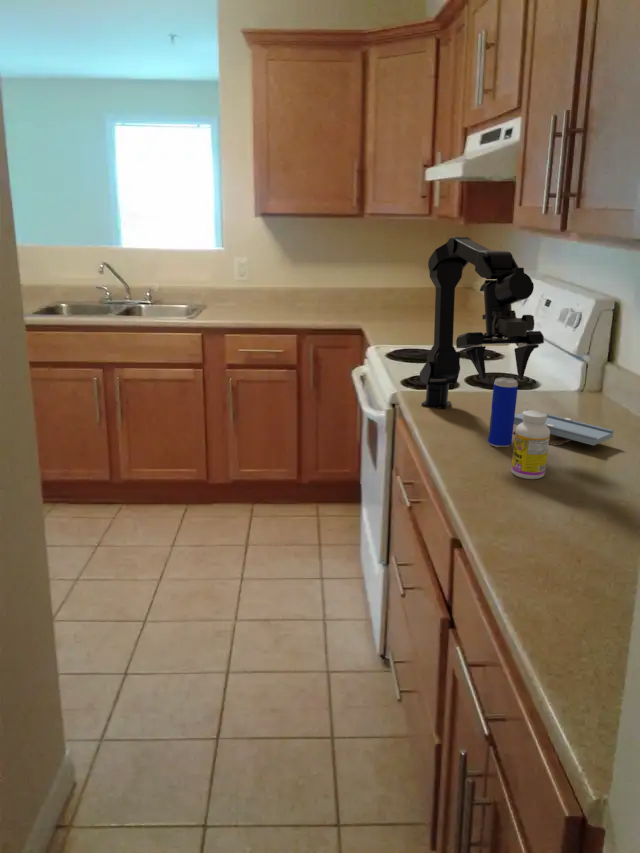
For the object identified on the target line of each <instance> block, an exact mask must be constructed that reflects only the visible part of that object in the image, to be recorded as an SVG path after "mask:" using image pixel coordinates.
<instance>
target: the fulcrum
mask: <svg viewBox="0 0 640 853" xmlns="http://www.w3.org/2000/svg"><path fill="white" fill-rule="evenodd" d="M567 441H568V442H570V441H572V440H571V439H567V438H564V437H560V436H556V435H553V434H550V437H549V443H552V444H555V445H554V446H556V445H558V446H560V445H562V444H561V443H563V444H565V443H568V442H567ZM564 442H565V443H564ZM552 444H551V445H552ZM559 444H560V445H559Z"/></svg>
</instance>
